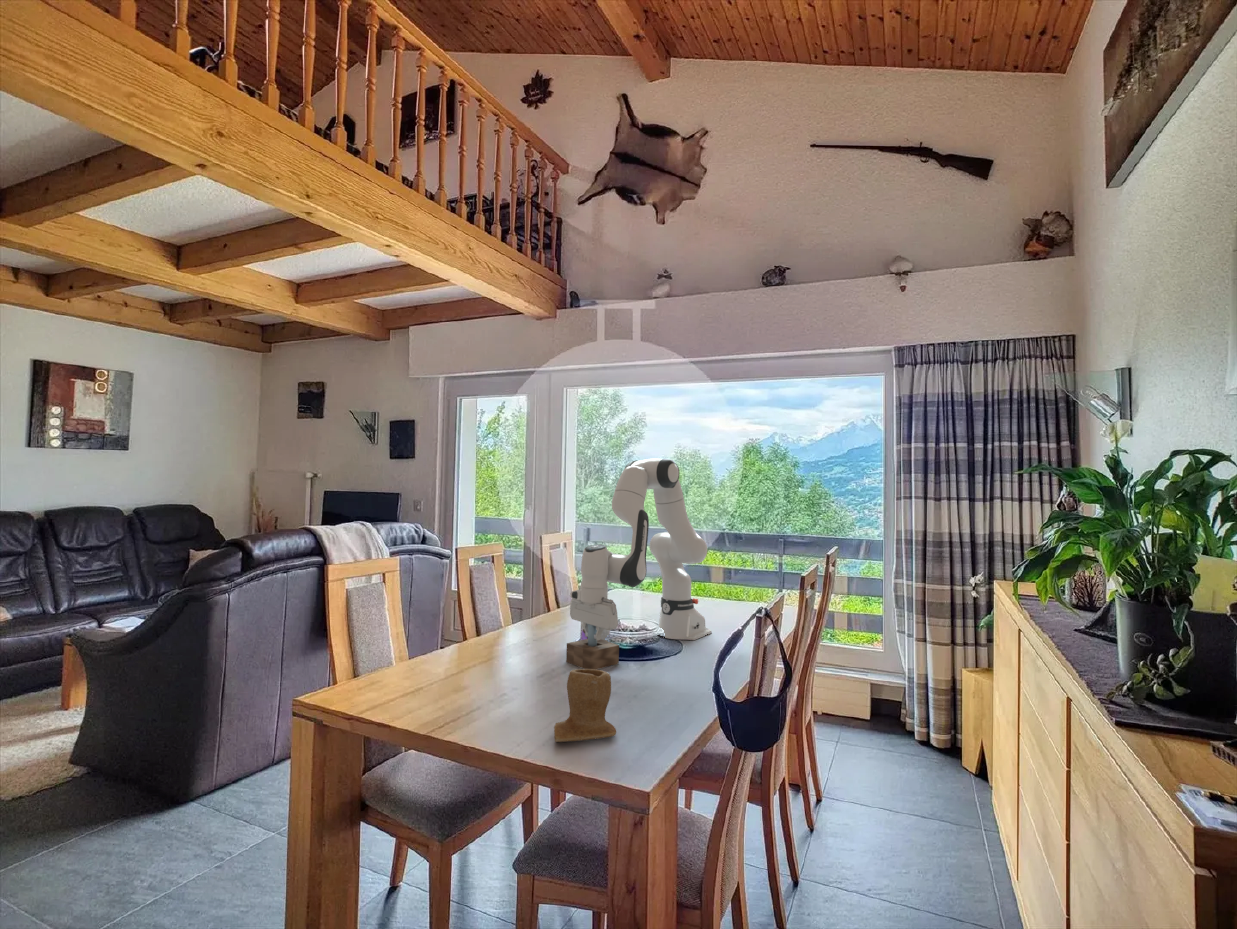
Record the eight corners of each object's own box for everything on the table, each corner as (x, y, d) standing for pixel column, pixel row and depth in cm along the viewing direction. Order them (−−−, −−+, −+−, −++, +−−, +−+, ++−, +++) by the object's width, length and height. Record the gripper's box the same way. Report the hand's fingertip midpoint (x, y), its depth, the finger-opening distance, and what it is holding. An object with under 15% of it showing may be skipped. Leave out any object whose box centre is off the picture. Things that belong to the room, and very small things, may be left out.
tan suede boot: (606, 722, 153) (608, 661, 153) (620, 742, 141) (622, 676, 142) (545, 728, 148) (547, 665, 148) (555, 749, 137) (557, 681, 137)
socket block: (594, 655, 209) (594, 637, 209) (618, 663, 200) (619, 645, 200) (566, 661, 201) (566, 643, 201) (590, 670, 192) (590, 651, 192)
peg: (592, 653, 203) (593, 616, 203) (598, 655, 200) (599, 618, 201) (585, 655, 201) (586, 618, 201) (591, 657, 198) (592, 619, 199)
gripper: (623, 599, 196) (621, 643, 195) (581, 589, 211) (580, 630, 210) (608, 601, 191) (606, 646, 191) (567, 591, 206) (565, 633, 206)
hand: (592, 638), depth 201 cm, fingers closed on peg, 3 cm apart
